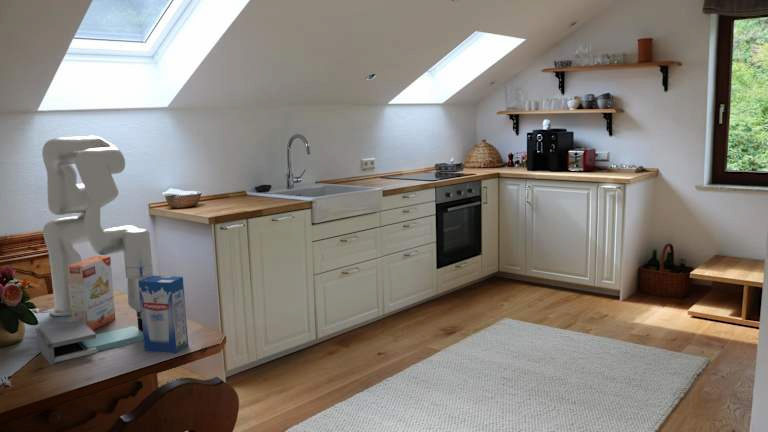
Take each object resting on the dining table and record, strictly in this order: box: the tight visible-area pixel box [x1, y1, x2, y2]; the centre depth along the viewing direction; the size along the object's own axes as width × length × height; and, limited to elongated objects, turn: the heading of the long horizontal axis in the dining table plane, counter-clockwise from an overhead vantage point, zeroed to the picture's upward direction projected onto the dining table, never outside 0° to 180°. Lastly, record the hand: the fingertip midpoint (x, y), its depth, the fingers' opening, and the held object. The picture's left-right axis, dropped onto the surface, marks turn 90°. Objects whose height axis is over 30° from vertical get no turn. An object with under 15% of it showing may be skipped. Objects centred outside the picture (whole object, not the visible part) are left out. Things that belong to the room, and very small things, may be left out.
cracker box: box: [67, 255, 116, 332], centre depth 203 cm, size 14×6×21 cm, turn 168°
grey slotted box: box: [35, 320, 98, 365], centre depth 183 cm, size 16×12×6 cm
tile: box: [77, 325, 144, 352], centre depth 190 cm, size 10×16×2 cm, turn 129°
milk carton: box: [138, 274, 189, 354], centre depth 182 cm, size 10×6×20 cm, turn 75°
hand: (144, 330), depth 196 cm, fingers closed
